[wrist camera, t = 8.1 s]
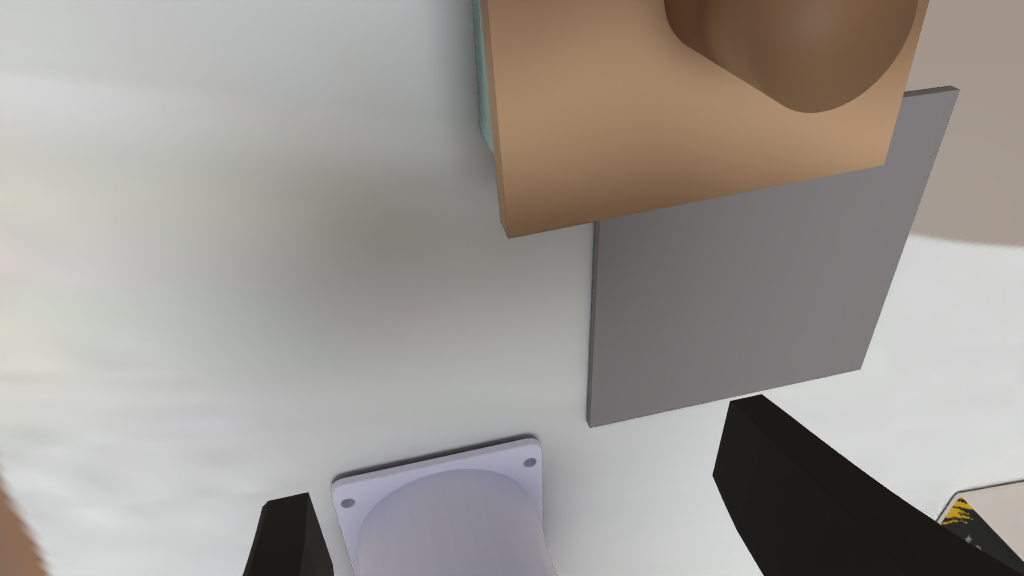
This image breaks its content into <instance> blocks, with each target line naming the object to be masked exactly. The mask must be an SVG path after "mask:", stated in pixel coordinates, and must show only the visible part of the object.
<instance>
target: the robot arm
mask: <svg viewBox="0 0 1024 576" xmlns="http://www.w3.org/2000/svg"><path fill="white" fill-rule="evenodd" d="M529 458H530V459H529ZM526 459H528V460H526ZM712 476H713V478H714V480H715V483H716V485H717V487H718V490H719V492H720V494H721V497H722V499H723V501H724V503H725V506H726V508H727V510H728V512H729V514H730V516H731V519H732V521H733V523H734V525H735V527H736V529H737V531H738V533H739V535H740V536H741V538H742V540H743V541H744V543H745V545H746V547H747V548H748V550H749V552H750V553H751V555H752V557H753V558H754V560H755V562H756V563H757V565H758V567H759V568H760V570H761V572H762V573H763V575H764V576H1024V575H1022V574H1021V573H1019V572H1017V571H1016V570H1014V569H1012V568H1011V567H1009V566H1007V565H1005V564H1004V563H1002V562H1000V561H999V560H997V559H995V558H994V557H992V556H990V555H988V554H987V553H985V552H983V551H982V550H980V549H978V548H977V547H975V546H973V545H972V544H970V543H968V542H967V541H965V540H964V539H962V538H960V537H959V536H957V535H956V534H954V533H952V532H951V531H949V530H948V529H946V528H945V527H943V526H942V525H940V524H939V523H937V522H936V521H934V520H933V519H931V518H930V517H928V516H927V515H925V514H924V513H922V512H921V511H919V510H918V509H916V508H915V507H913V506H912V505H910V504H909V503H907V502H906V501H904V500H903V499H901V498H900V497H899V496H897V495H896V494H894V493H893V492H891V491H890V490H889V489H887V488H886V487H884V486H883V485H882V484H880V483H879V482H877V481H876V480H875V479H873V478H872V477H870V476H869V475H868V474H866V473H865V472H864V471H862V470H861V469H859V468H858V467H857V466H855V465H854V464H853V463H851V462H850V461H849V460H847V459H846V458H845V457H843V456H842V455H841V454H839V453H838V452H837V451H835V450H834V449H833V448H831V447H830V446H829V445H827V444H826V443H825V442H824V441H822V440H821V439H820V438H818V437H817V436H816V435H814V434H813V433H812V432H810V431H809V430H808V429H807V428H805V427H804V426H803V425H801V424H800V423H799V422H797V421H796V420H795V419H794V418H792V417H791V416H790V415H788V414H787V413H786V412H785V411H783V410H782V409H781V408H779V407H778V406H777V405H775V404H774V403H773V402H771V401H770V400H769V399H767V398H766V397H765V396H763V395H762V394H761V395H756V396H751V397H747V398H742V399H737V400H733V401H730V404H729V408H728V412H727V416H726V420H725V425H724V429H723V433H722V437H721V441H720V446H719V450H718V454H717V458H716V463H715V467H714V471H713V475H712ZM331 494H332V500H333V503H334V506H335V510H336V513H337V517H338V520H339V523H340V527H341V530H342V533H343V537H344V540H345V544H346V547H347V550H348V554H349V557H350V560H351V564H352V567H353V571H354V574H355V576H557V575H556V572H555V569H554V566H553V562H552V559H551V556H550V553H549V550H548V547H547V544H546V541H545V538H544V535H543V502H542V449H541V446H540V443H539V441H538V440H536V439H533V438H527V439H522V440H518V441H513V442H508V443H504V444H499V445H494V446H490V447H485V448H480V449H476V450H471V451H467V452H462V453H457V454H453V455H448V456H443V457H439V458H434V459H430V460H425V461H420V462H416V463H411V464H406V465H402V466H397V467H392V468H388V469H383V470H379V471H374V472H369V473H365V474H360V475H355V476H351V477H346V478H342V479H339V480H337V481H336V482H334V483H333V485H332V486H331ZM243 576H334V572H333V564H332V561H331V558H330V555H329V552H328V549H327V546H326V543H325V540H324V537H323V534H322V531H321V528H320V525H319V522H318V519H317V516H316V513H315V510H314V507H313V504H312V501H311V499H310V496H309V493H308V492H307V493H303V494H298V495H294V496H289V497H284V498H280V499H275V500H270V501H268V502H267V503H266V504H265V505H264V506H263V507H262V511H261V515H260V519H259V523H258V527H257V531H256V534H255V538H254V541H253V545H252V548H251V551H250V554H249V558H248V561H247V564H246V567H245V570H244V573H243Z"/></svg>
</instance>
